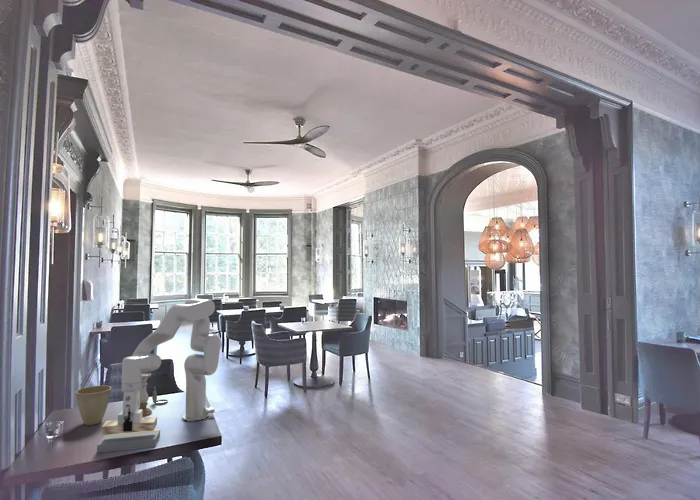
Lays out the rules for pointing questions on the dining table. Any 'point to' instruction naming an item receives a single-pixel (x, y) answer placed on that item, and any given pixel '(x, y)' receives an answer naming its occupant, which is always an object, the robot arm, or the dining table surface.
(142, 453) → the dining table surface
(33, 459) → the dining table surface
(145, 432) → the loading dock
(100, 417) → the plant pot
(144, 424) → the tan piece
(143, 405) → the candle holder
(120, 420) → the pale green block
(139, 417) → the block
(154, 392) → the pocket watch
